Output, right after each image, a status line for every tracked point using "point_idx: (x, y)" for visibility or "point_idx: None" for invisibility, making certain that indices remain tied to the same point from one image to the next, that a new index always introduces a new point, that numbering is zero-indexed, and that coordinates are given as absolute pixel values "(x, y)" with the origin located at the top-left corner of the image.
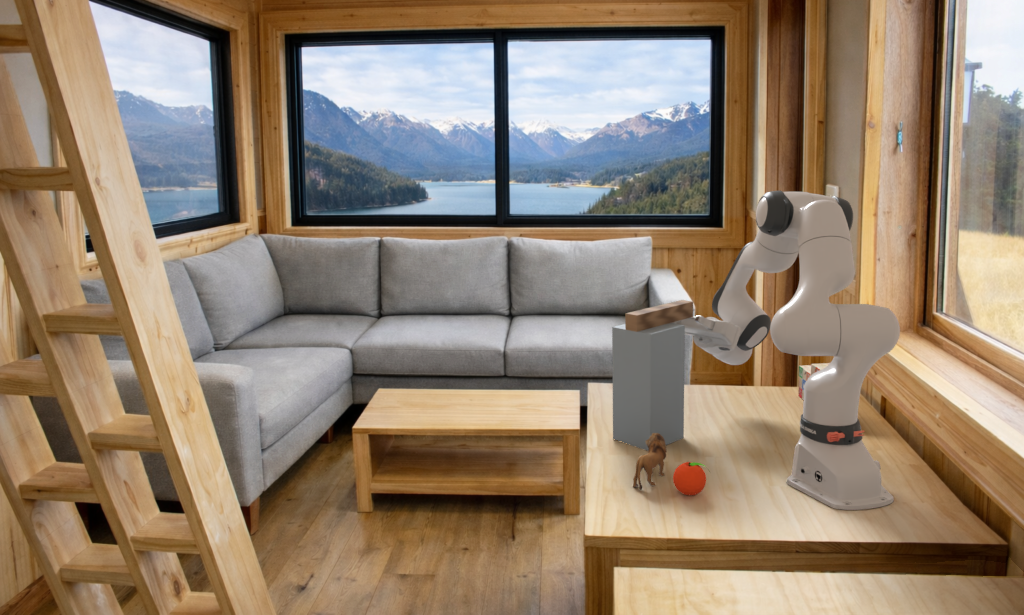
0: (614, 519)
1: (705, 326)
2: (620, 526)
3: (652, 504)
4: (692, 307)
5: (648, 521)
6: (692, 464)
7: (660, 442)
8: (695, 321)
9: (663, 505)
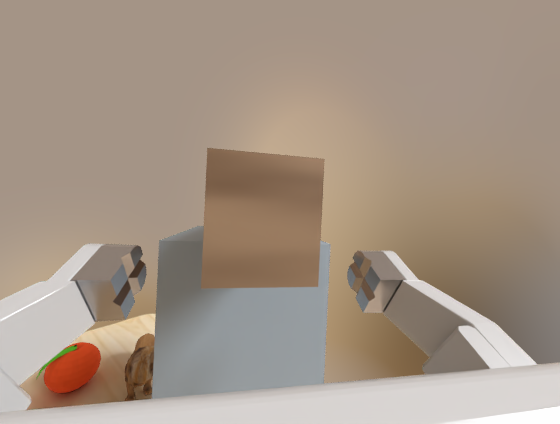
0: (146, 323)
1: (37, 361)
2: (136, 321)
3: (119, 350)
4: (207, 201)
5: (114, 333)
6: (70, 347)
7: (134, 352)
8: (142, 280)
9: (106, 354)
